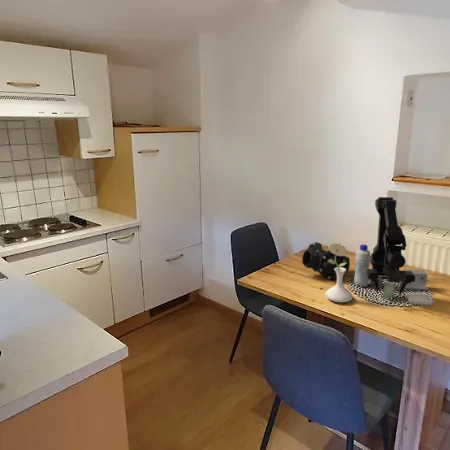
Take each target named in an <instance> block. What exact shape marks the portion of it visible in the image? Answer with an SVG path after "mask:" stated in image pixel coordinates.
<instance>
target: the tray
mask: <svg viewBox="0 0 450 450" xmlns="http://www.w3.org/2000/svg"><path fill="white" fill-rule="evenodd" d="M406 297H407V298H406ZM405 298H406V299H407V301H408V303H409V305H418V306H419V305H420V306H433V307H434V306H435V305H434V303H435V301H434V300H433V299H432V297H431V296H430V295H429V293H421V292H420V293H419V292H417V293H416V292H405Z"/></svg>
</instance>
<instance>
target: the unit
mask: <svg viewBox="0 0 450 450" xmlns="http://www.w3.org/2000/svg"><path fill="white" fill-rule="evenodd" d="M402 271H412V272H413V274H414V275H415V282H411V283H408V284H407V285H406V286H405V288H404V289H408V290H409V291H421V290H423V291H422V292H424V291H425V292H427V291H428V288H427V280H428V273H427V272H426V270H425V269H413V268H412V269H411V268H410V269H409V268H408V269H407V268H402ZM404 289H403V290H404Z"/></svg>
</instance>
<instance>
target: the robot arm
mask: <svg viewBox="0 0 450 450" xmlns="http://www.w3.org/2000/svg"><path fill="white" fill-rule="evenodd" d="M374 203H375V204H374V206H375V210H376V212H377V214H378V216H379V217H378V227H377V242H376V245H375V246H374V247H373V249H372V253H370V256H371V259H370V263H369V264H370V265H371V268H369V269H368V270H367V277H368V279H369V280H370V281H374V284H375V287H374V288H375V291H376V293H377V294H379V291H380V289H379V287H378V282H379V280H378V277H381V278H382V279H386V280H387V282H390V283H397V284H399V289H398V290H399V291H398V295H402V293H403V292H404V288H405V286H406V285H407V284H408V283H411V282H415V275H414V274H413V272H412V271H403V270H400V269H401V268H403V267H404V266H405V264H406V258H405V256H404V255H403V254H402V251H406V248H407V241H406V239H407V238H406V236H405V234H404V232H403V229H402V227H400V226H399V224H398V223H399V222H398V216H397V212H396V211H397V210H396V208H397V199H394V198H393V197H392V196H389V197H388V196H386V197H385V196H379V197H377V198H376V199H375V201H374Z"/></svg>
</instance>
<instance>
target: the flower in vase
mask: <svg viewBox="0 0 450 450" xmlns="http://www.w3.org/2000/svg"><path fill="white" fill-rule="evenodd" d="M327 248H328V251H329V250H330V251H331V252H332V253H333V254H336V255H337V256H346V255H347V253H348V251H347V249H346V248H347V247H345V245H342V244H341V243H340V242H339V243H338V242H334V241H333V242H332V243H331V242H330V243H329V244H328V247H327ZM336 255H335V261H333V260H332V259H330V260H328V261H327V262H330V263H332V264H335V263H336ZM346 263H347V262H346ZM346 263H341V264H340V265H339V266H343V265H345V264H346ZM336 265H337V263H336ZM334 270H335V271H336V274H337V277H336V284H335V285H334V286H332V287H331V288H329V289H327V290H326V291H325V294H324V296H325V297H326V298H327V299H328V300H330V301H332V302H335V303H347V302H350V301H352V299H353V294H352V293H351V291H350V290H348V289H347V288H346V287H344V284H343V280H344V279H343V278H344V275H345V274H346V273H345V271H346V269H345V268H342V267H338V265H337V267H336V268H334ZM344 273H345V274H344Z"/></svg>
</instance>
